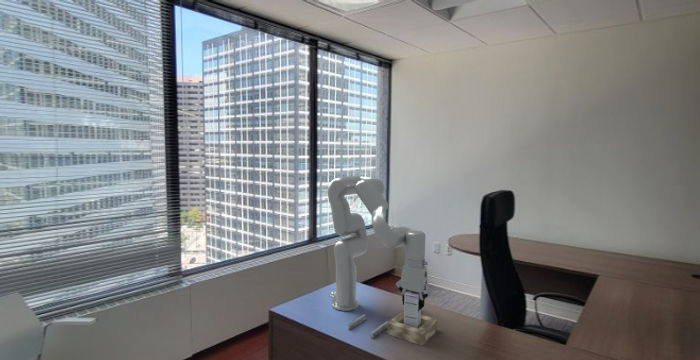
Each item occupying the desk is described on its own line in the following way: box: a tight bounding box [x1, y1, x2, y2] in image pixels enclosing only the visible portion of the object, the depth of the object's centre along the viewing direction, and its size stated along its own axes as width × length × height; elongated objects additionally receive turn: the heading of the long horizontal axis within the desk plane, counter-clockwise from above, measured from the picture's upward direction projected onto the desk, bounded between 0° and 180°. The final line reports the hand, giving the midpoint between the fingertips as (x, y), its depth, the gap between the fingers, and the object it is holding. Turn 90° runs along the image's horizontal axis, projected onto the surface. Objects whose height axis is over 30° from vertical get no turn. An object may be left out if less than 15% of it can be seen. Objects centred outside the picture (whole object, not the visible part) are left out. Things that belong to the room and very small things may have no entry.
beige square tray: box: [386, 310, 439, 346], centre depth 150 cm, size 15×15×4 cm
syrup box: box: [403, 290, 423, 329], centre depth 149 cm, size 6×6×14 cm
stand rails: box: [347, 313, 389, 339], centre depth 152 cm, size 12×12×2 cm
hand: (413, 305), depth 149 cm, fingers closed on syrup box, 6 cm apart
